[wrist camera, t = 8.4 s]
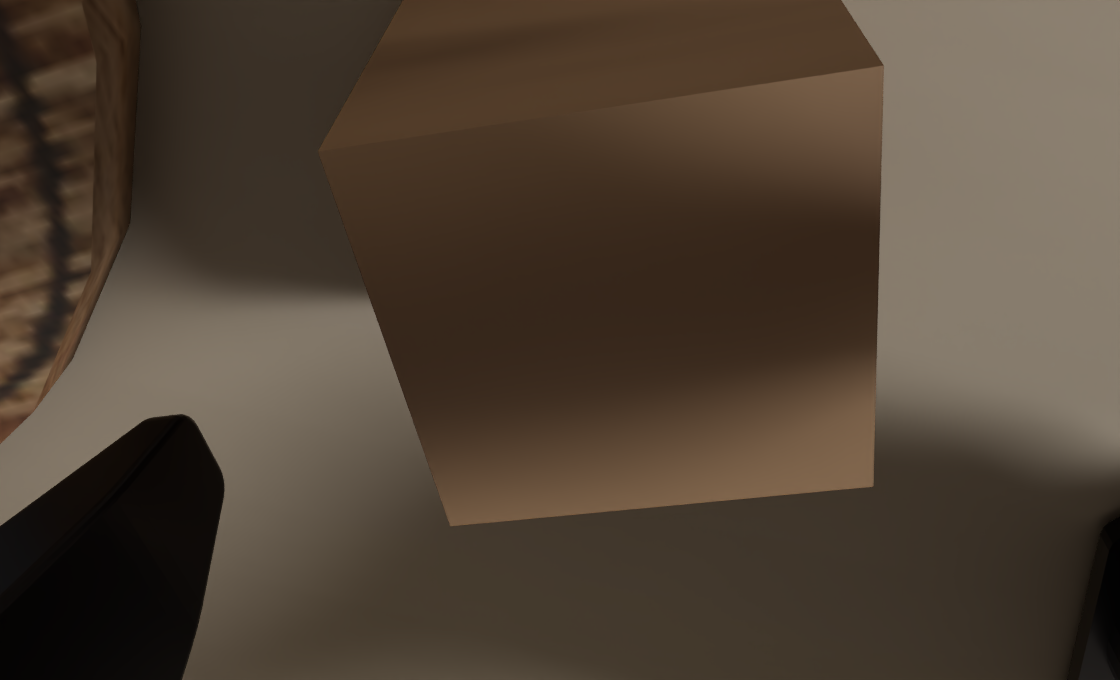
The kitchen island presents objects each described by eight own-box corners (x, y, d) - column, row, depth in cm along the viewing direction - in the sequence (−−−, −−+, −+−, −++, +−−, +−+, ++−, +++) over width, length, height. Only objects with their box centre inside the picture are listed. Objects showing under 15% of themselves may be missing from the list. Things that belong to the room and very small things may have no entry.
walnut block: (801, 257, 15) (873, 486, 11) (490, 297, 16) (449, 525, 12) (790, -78, 12) (884, 65, 8) (409, -11, 13) (318, 150, 9)
